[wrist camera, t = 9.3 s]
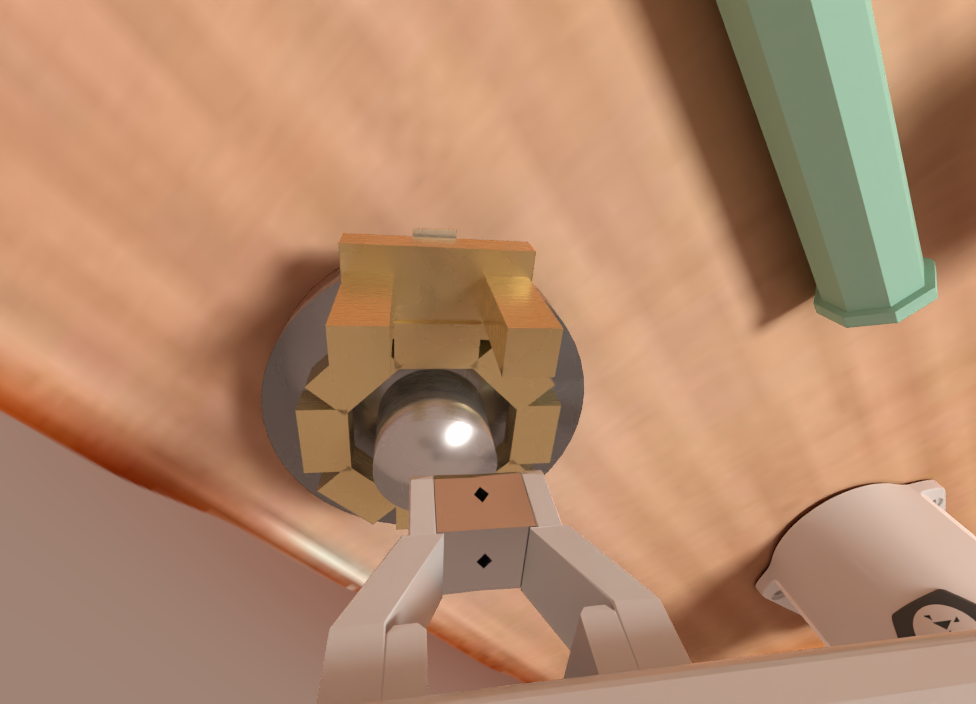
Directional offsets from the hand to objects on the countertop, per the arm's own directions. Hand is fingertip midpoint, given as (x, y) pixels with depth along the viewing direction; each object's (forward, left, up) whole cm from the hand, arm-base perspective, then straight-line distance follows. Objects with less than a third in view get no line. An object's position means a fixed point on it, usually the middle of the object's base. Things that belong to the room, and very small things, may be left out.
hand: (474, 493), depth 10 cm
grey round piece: (-5, +6, -17) cm, 18 cm away
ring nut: (-4, +4, -13) cm, 15 cm away
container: (-6, -19, -17) cm, 27 cm away
